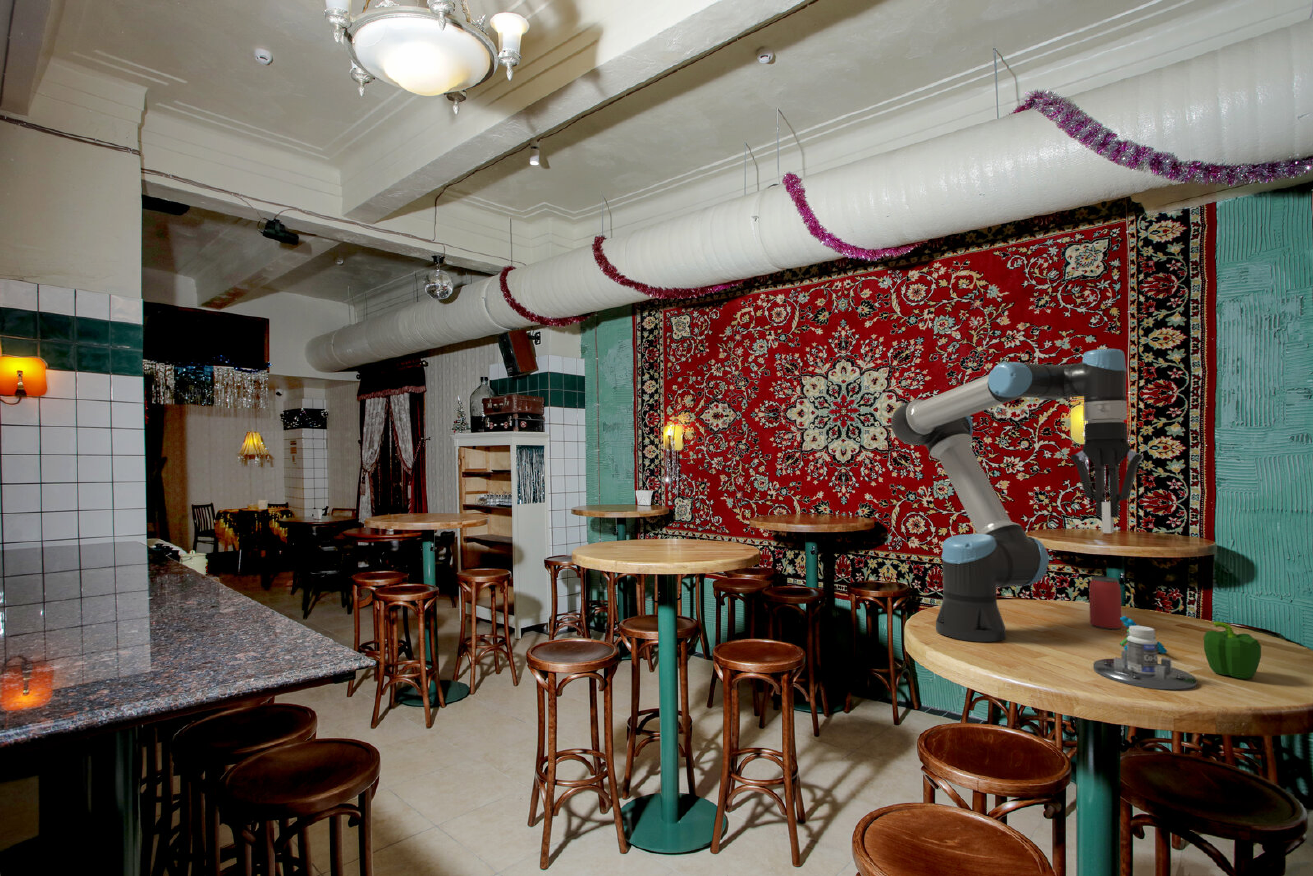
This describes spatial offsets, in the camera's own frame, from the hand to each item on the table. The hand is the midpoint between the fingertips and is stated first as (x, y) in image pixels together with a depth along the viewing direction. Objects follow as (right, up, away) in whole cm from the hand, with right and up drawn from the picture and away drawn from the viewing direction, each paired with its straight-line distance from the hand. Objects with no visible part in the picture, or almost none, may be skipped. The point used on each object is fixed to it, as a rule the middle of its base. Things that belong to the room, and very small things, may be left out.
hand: (1108, 532), depth 138 cm
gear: (+10, -27, +4) cm, 29 cm away
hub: (-2, -26, -12) cm, 29 cm away
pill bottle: (-2, -26, -12) cm, 28 cm away
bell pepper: (+16, -26, -12) cm, 33 cm away
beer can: (+16, -27, +24) cm, 40 cm away
